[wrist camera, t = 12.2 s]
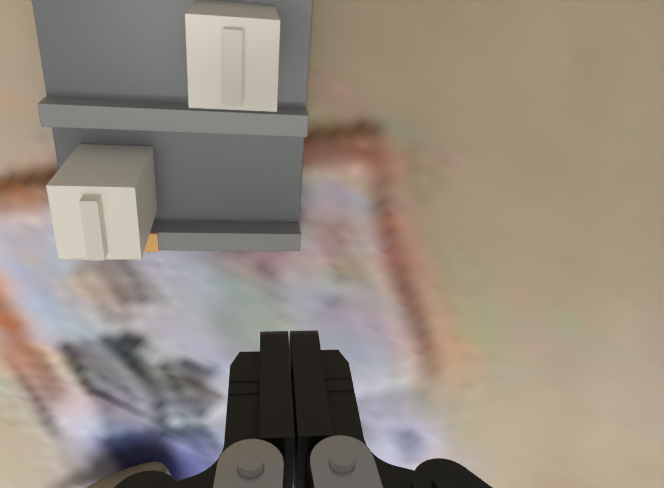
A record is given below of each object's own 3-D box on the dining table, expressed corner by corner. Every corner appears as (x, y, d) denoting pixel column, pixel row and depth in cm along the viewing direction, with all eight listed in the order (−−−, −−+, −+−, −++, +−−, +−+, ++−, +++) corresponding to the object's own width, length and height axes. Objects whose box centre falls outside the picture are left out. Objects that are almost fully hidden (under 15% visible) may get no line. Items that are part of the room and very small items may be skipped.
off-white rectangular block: (274, 4, 29) (281, 23, 24) (271, 81, 31) (277, 116, 25) (196, -2, 29) (183, 16, 23) (198, 78, 31) (187, 112, 25)
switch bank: (323, -227, 26) (332, -245, 24) (296, 230, 38) (300, 252, 35) (-2, -273, 24) (-32, -298, 21) (74, 227, 35) (60, 251, 33)
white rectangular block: (152, 146, 32) (132, 194, 26) (157, 209, 34) (138, 267, 28) (79, 143, 32) (40, 192, 26) (87, 208, 33) (54, 267, 28)
